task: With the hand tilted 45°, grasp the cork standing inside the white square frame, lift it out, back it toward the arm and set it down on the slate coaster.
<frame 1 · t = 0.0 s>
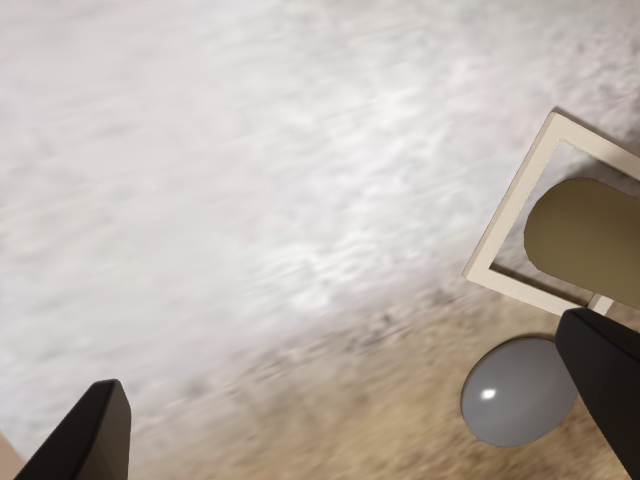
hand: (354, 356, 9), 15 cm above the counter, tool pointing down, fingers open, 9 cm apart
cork: (569, 227, 27), resting in white square frame
slate coaster: (518, 391, 30), on the counter
white square frame: (571, 228, 27), on the counter
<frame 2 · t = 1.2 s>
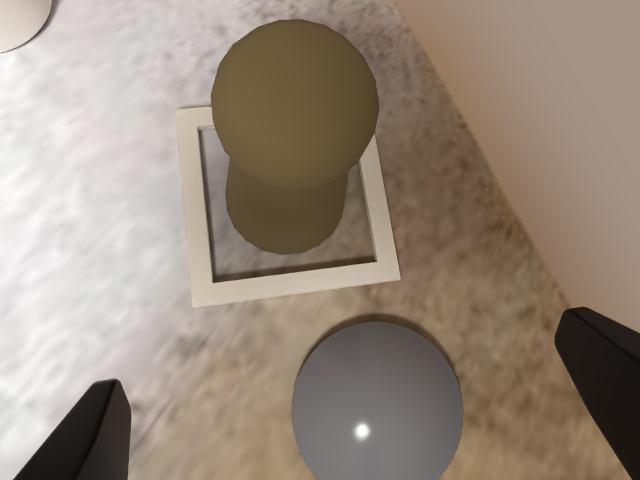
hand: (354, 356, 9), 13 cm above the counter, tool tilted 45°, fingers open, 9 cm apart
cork: (285, 197, 24), resting in white square frame
slate coaster: (376, 408, 22), on the counter
white square frame: (285, 196, 24), on the counter
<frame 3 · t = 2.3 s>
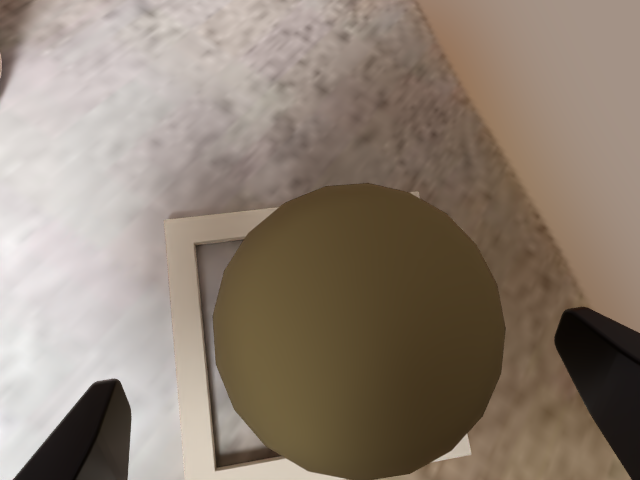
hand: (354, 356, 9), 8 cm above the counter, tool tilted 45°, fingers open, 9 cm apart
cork: (312, 335, 18), resting in white square frame
white square frame: (313, 335, 18), on the counter
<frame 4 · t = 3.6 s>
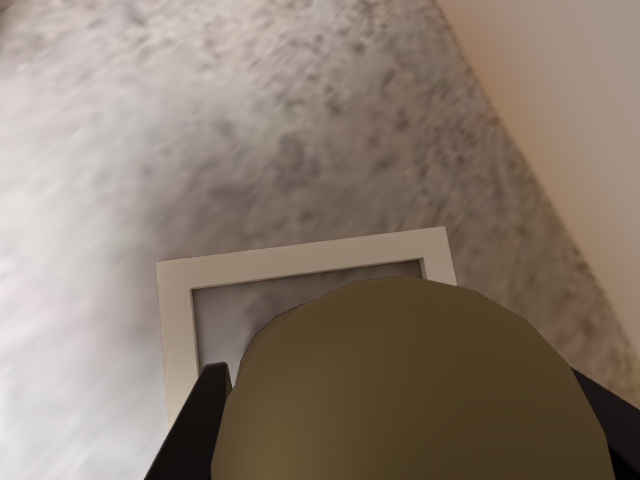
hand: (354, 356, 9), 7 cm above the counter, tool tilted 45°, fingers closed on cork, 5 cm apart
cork: (325, 392, 16), resting in white square frame, touching gripper
white square frame: (326, 392, 15), on the counter
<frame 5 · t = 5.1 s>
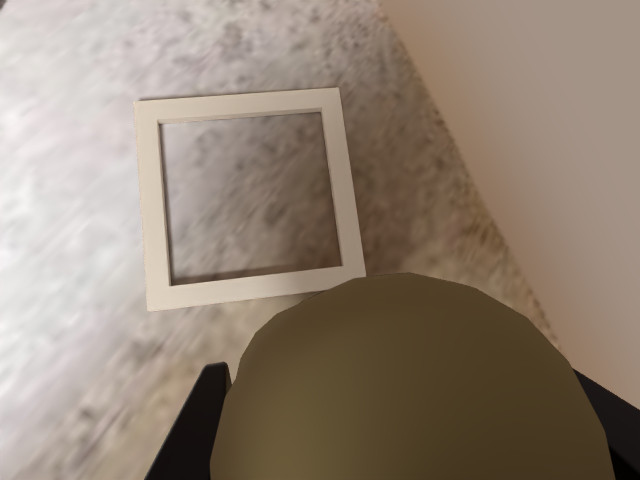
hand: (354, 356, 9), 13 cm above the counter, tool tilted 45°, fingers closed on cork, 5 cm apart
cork: (325, 390, 16), point 6 cm above the counter, touching gripper
white square frame: (249, 195, 23), on the counter
when the fingers open (8 cm above the counter, at t = 6.7 s): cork stays where it is, resting on slate coaster.
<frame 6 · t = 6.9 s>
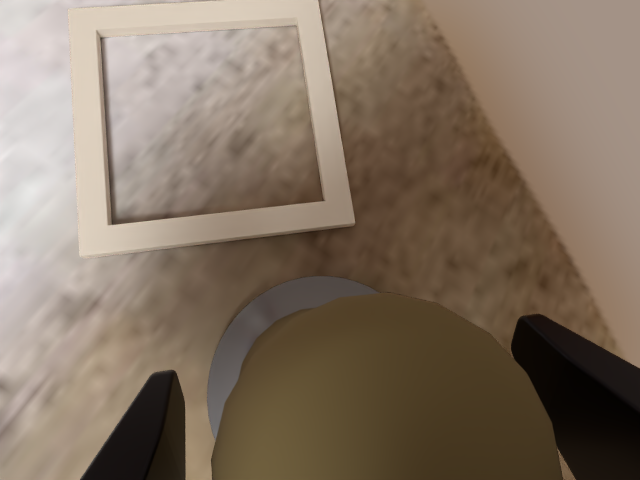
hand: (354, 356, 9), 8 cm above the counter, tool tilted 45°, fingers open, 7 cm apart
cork: (322, 392, 16), resting on slate coaster
slate coaster: (321, 387, 17), on the counter
white square frame: (210, 119, 19), on the counter
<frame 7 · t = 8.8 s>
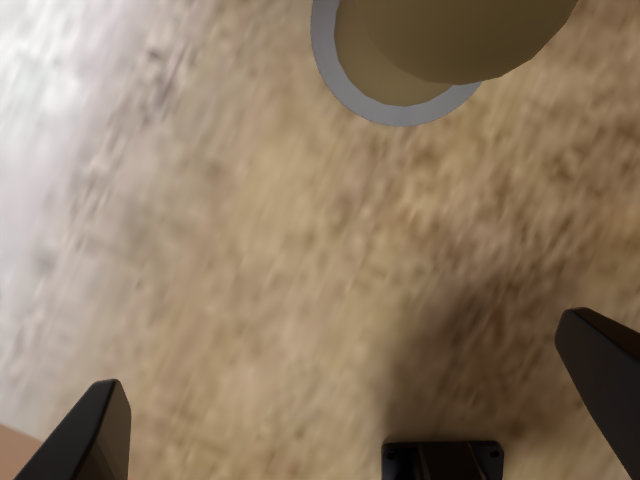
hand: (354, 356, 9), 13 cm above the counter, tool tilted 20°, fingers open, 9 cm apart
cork: (404, 33, 20), resting on slate coaster
slate coaster: (403, 30, 20), on the counter
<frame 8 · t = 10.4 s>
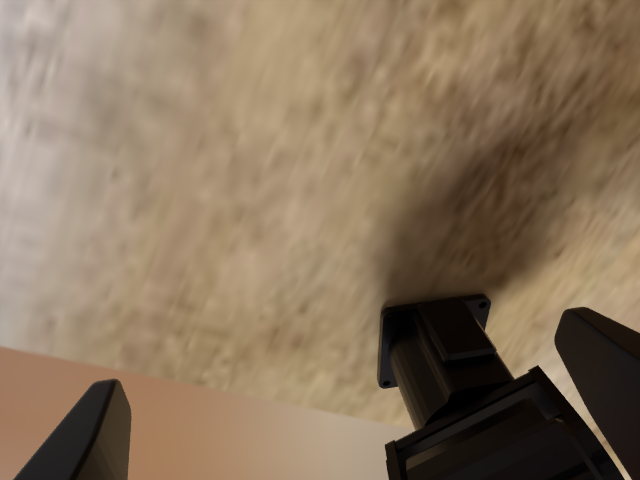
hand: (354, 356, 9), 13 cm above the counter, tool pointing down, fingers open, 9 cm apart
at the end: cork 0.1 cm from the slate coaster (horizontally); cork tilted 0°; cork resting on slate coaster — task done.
